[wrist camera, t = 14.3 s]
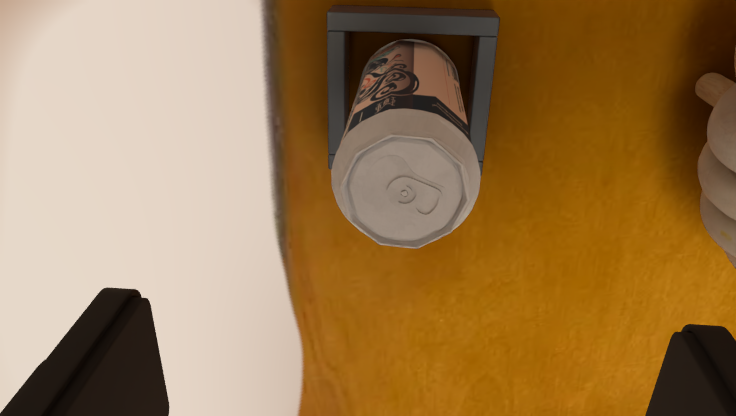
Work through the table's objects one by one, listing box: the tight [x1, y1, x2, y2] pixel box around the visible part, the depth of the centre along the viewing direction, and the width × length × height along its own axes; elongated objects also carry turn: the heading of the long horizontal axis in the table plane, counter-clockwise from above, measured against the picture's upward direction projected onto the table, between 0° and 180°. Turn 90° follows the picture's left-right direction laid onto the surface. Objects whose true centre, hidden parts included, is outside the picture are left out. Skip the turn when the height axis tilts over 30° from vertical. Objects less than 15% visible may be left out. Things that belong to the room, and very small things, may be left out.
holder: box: [327, 5, 500, 176], centre depth 28 cm, size 7×7×2 cm
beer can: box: [331, 39, 481, 249], centre depth 24 cm, size 5×5×12 cm
